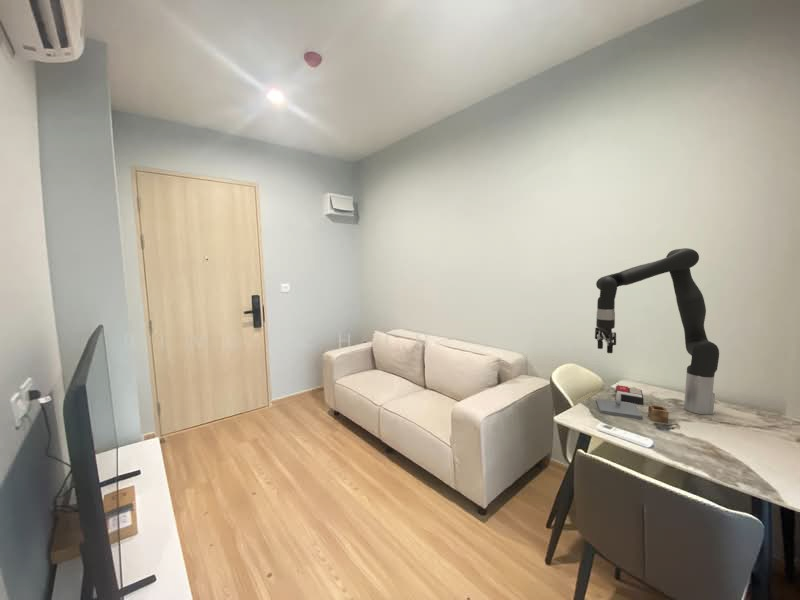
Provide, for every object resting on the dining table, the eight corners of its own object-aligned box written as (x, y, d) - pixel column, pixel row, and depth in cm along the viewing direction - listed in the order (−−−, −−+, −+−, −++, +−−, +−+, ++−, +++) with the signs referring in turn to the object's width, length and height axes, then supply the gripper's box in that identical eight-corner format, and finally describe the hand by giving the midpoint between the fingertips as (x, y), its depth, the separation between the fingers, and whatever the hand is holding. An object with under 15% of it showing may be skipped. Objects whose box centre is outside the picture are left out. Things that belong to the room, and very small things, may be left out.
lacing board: (634, 406, 153) (634, 403, 152) (642, 419, 140) (642, 416, 140) (595, 401, 159) (595, 398, 159) (599, 413, 147) (600, 410, 146)
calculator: (641, 388, 166) (643, 396, 154) (641, 396, 167) (643, 405, 154) (616, 384, 173) (616, 392, 160) (615, 392, 173) (615, 400, 160)
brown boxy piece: (663, 417, 142) (664, 406, 141) (667, 423, 137) (668, 411, 136) (647, 415, 144) (648, 404, 143) (651, 420, 139) (652, 409, 138)
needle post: (620, 404, 150) (620, 391, 149) (620, 405, 148) (621, 393, 147) (615, 403, 151) (615, 391, 150) (615, 405, 149) (616, 392, 148)
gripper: (622, 320, 148) (621, 354, 149) (605, 315, 162) (604, 347, 164) (605, 320, 148) (604, 354, 150) (590, 316, 163) (589, 347, 164)
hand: (604, 350), depth 157 cm, fingers open, 8 cm apart
